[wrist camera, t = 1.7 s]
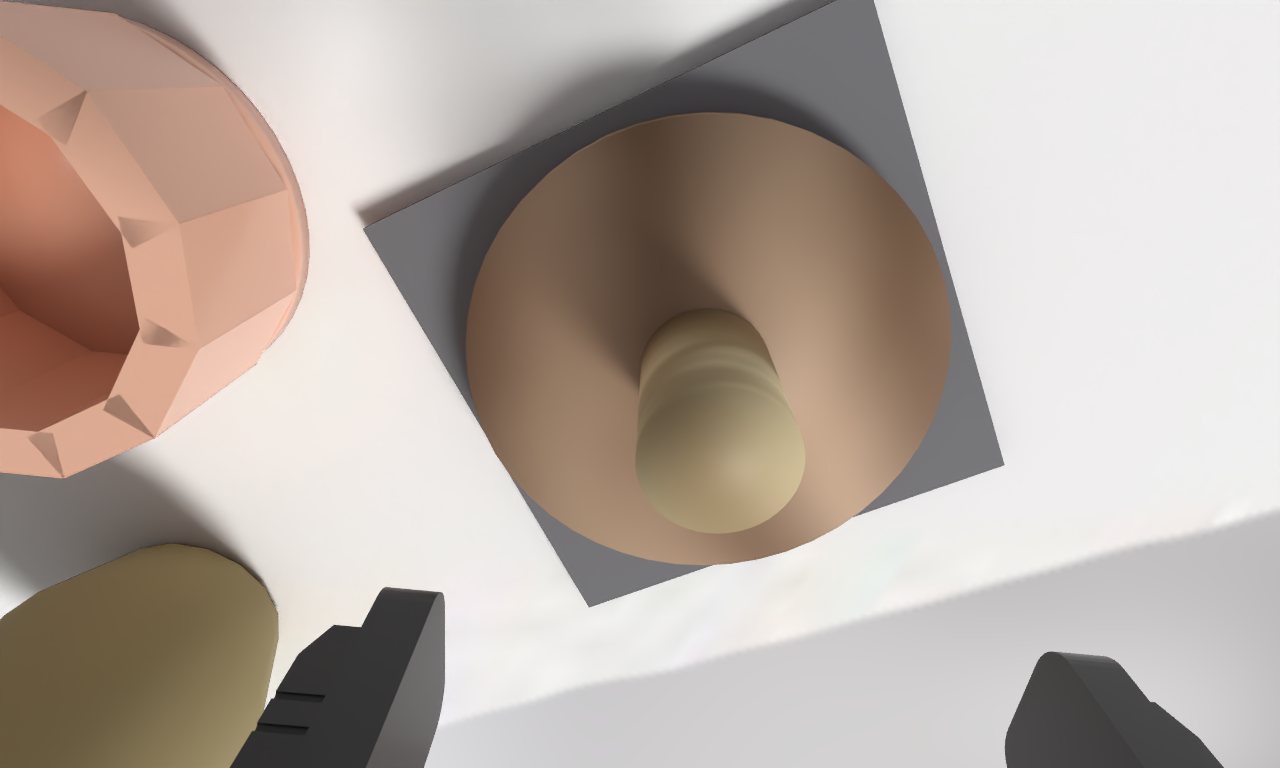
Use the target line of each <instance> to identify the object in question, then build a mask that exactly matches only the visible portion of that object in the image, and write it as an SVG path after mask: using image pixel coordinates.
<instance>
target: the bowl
mask: <svg viewBox="0 0 1280 768" xmlns="http://www.w3.org/2000/svg"><path fill="white" fill-rule="evenodd" d="M308 264H309V230H308V223H307V216H306V210H305V206H304V202H303V199H302V195H301V191H300V188H299V184H298V182H297V180H296V177H295V175H294V172H293V170H292V167H291V165H290V162H289V160H288V158H287V156H286V154H285V153H284V151H283V149H282V147H281V145H280V143H279V141H278V140H277V138H276V136H275V134H274V133H273V132H272V130H271V129H270V127H269V126H268V124H267V123H266V121H265V120H264V119H263V117H262V116H261V114H260V113H259V111H258V110H257V109H256V108H255V107H254V106H253V104H252V103H251V102H250V101H249V100H248V99H247V97H246V96H245V95H244V94H243V93H242V92H241V90H240V89H239V88H238V87H236V86H235V85H234V84H233V83H232V82H231V81H230V80H229V79H228V78H227V77H226V76H225V75H224V74H223V73H222V72H221V71H220V70H218V69H217V68H216V67H215V66H213V65H212V64H211V63H209V62H208V61H207V60H205V59H204V58H203V57H201V56H200V55H199V54H198V53H196V52H195V51H193V50H192V49H190V48H188V47H187V46H185V45H183V44H182V43H180V42H178V41H177V40H175V39H174V38H172V37H170V36H168V35H166V34H164V33H162V32H160V31H157V30H155V29H153V28H151V27H149V26H147V25H144V24H142V23H139V22H136V21H133V20H129V19H126V18H123V17H120V16H118V15H117V14H116V13H110V12H100V11H91V10H82V9H73V8H64V7H54V6H46V5H37V4H28V3H19V2H10V1H1V0H0V472H2V473H12V474H22V475H32V476H42V477H53V478H63V479H65V478H67V477H69V476H71V475H73V474H76V473H78V472H80V471H82V470H85V469H87V468H89V467H91V466H94V465H96V464H98V463H100V462H103V461H105V460H107V459H109V458H112V457H114V456H116V455H118V454H120V453H123V452H125V451H127V450H129V449H132V448H134V447H136V446H138V445H141V444H143V443H145V442H147V441H150V440H152V439H155V438H156V437H157V436H159V435H160V434H161V433H163V432H164V431H166V430H167V429H168V428H170V427H171V426H172V425H174V424H175V423H176V422H178V421H179V420H181V419H182V418H183V417H185V416H186V415H187V414H189V413H190V412H192V411H193V410H194V409H196V408H197V407H198V406H200V405H201V404H202V403H204V402H205V401H207V400H208V399H209V398H211V397H212V396H213V395H215V394H216V393H217V392H219V391H220V390H222V389H223V388H224V387H226V386H227V385H228V384H230V383H231V382H233V381H234V380H235V379H237V378H238V377H239V376H241V375H242V374H243V373H245V372H246V371H248V370H249V369H250V368H252V367H253V366H254V365H256V364H257V362H258V361H259V359H260V357H261V355H262V353H263V351H264V350H266V349H267V348H268V347H270V345H271V344H272V343H273V342H274V341H275V340H276V339H277V338H278V337H279V336H280V335H281V334H282V332H283V331H284V329H285V328H286V326H287V325H288V323H289V322H290V320H291V319H292V317H293V315H294V313H295V311H296V309H297V307H298V304H299V302H300V300H301V297H302V294H303V290H304V286H305V283H306V279H307V273H308Z"/></svg>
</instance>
